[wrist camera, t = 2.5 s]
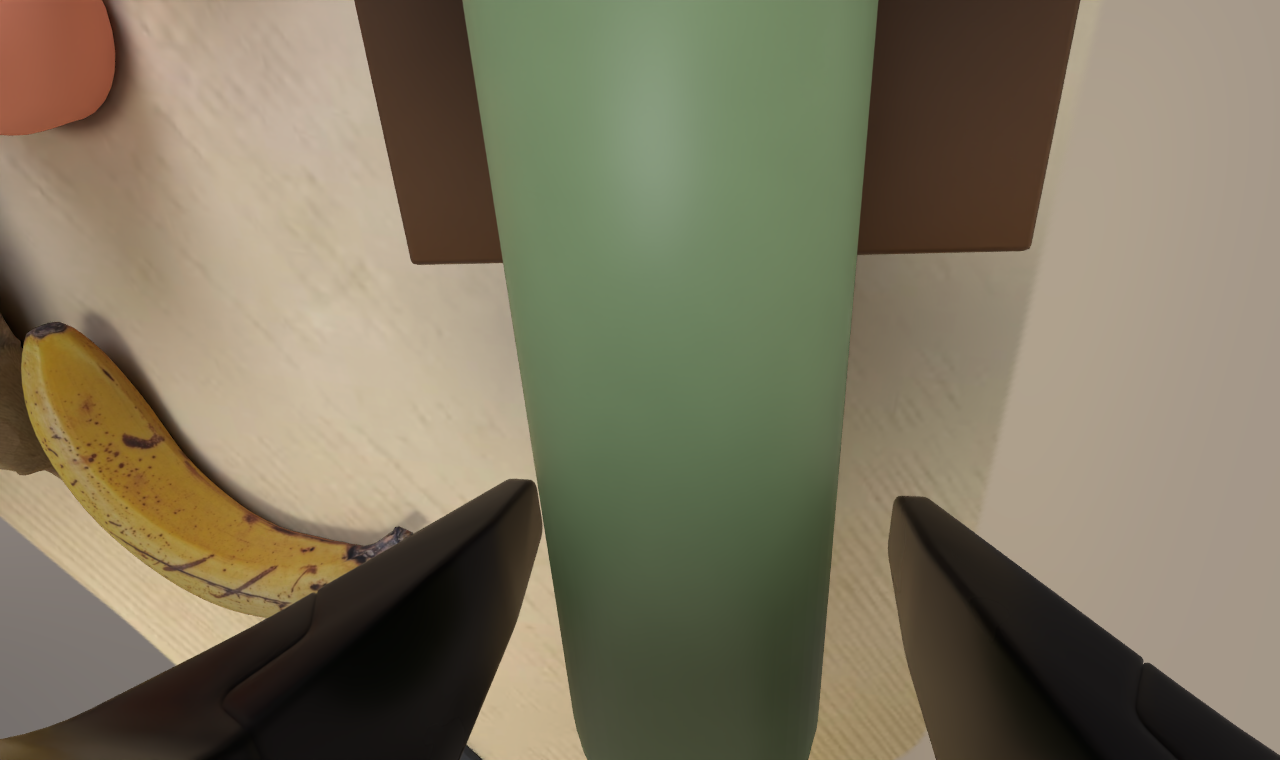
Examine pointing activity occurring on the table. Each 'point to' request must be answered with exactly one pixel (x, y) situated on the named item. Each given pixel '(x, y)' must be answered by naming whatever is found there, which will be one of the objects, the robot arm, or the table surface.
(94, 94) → the pottery
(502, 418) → the table surface
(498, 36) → the green pink knobbed rod
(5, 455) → the sculpture
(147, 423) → the fruit
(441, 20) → the block
